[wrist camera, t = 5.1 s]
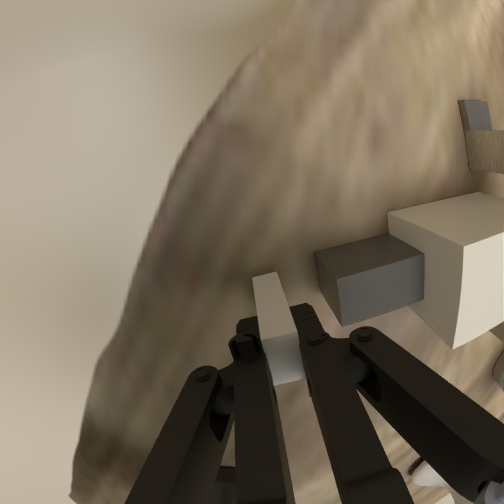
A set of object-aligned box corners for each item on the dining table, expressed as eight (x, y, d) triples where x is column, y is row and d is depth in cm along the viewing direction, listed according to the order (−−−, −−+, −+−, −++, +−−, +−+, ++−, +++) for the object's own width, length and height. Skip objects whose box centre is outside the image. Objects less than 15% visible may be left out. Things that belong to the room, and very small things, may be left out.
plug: (323, 310, 20) (364, 386, 13) (310, 229, 18) (360, 279, 11) (481, 258, 20) (543, 293, 12) (481, 190, 18) (554, 211, 11)
